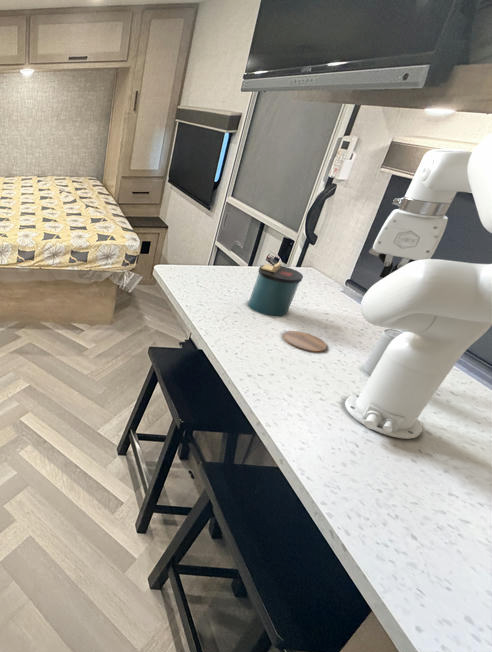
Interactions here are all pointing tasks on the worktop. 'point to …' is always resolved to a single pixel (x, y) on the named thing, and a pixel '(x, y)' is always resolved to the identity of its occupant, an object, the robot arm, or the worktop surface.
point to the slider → (272, 267)
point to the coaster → (304, 341)
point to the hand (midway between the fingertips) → (386, 281)
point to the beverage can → (380, 349)
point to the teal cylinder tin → (274, 291)
